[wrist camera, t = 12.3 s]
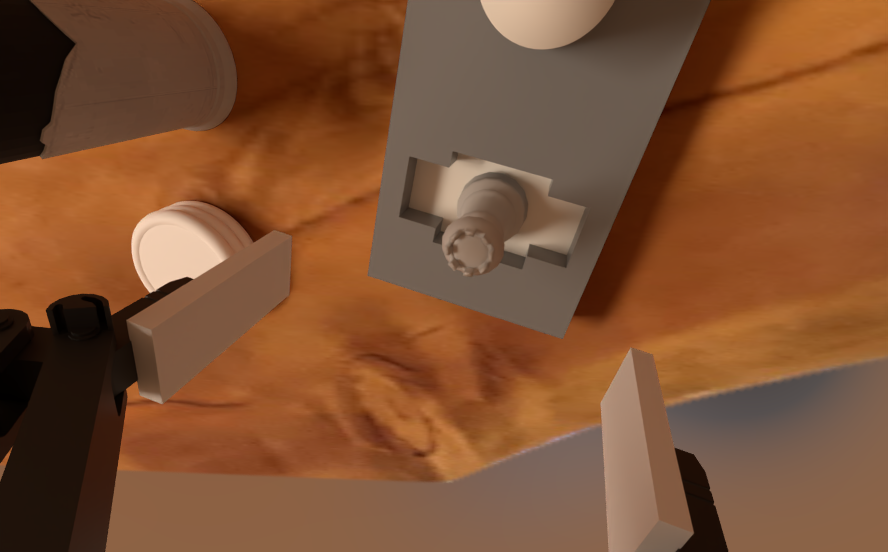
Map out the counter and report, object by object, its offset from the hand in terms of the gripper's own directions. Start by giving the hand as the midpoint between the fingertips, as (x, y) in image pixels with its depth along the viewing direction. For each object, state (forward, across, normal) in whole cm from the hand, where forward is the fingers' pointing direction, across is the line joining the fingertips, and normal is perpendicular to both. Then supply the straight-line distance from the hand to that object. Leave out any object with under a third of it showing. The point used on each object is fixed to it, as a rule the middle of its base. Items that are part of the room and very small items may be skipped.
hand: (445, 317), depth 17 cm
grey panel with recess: (+15, 0, -6) cm, 16 cm away
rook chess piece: (+14, 0, 0) cm, 14 cm away
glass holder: (+15, +26, -4) cm, 31 cm away
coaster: (+15, +22, +12) cm, 30 cm away
